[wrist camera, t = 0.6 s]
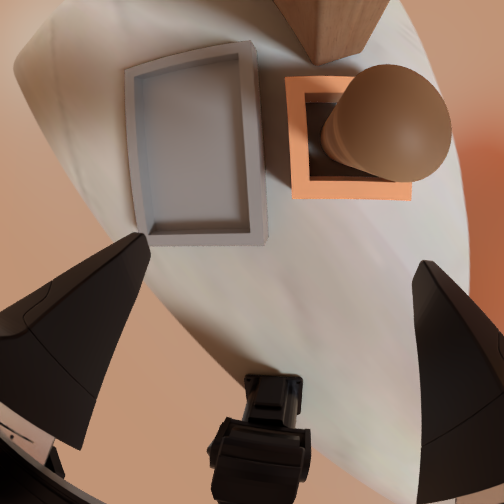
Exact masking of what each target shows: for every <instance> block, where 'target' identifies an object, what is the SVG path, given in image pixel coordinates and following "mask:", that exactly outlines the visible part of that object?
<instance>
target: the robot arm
mask: <svg viewBox="0 0 504 504" xmlns="http://www.w3.org/2000/svg"><path fill="white" fill-rule="evenodd" d="M150 257H151V252H150V249H149V245H148V242H147V238H146V235H145V234H144V233H137V232H133V233H131V234H129V235H127V236H126V237H124V238H122V239H120V240H118V241H117V242H115V243H113V244H111V245H110V246H108V247H106V248H104V249H103V250H101V251H99V252H97V253H96V254H94V255H92V256H91V257H89V258H87V259H86V260H84V261H82V262H81V263H79V264H77V265H76V266H74V267H72V268H71V269H69V270H67V271H66V272H64V273H63V274H61V275H59V276H58V277H56V278H55V279H53V281H50V282H48V283H47V284H45V285H44V286H42V287H41V288H39V289H37V290H36V291H34V292H33V293H31V294H29V295H28V296H26V297H24V298H23V299H21V300H19V301H18V302H16V303H14V304H13V305H11V306H9V307H7V308H6V309H4V310H3V311H1V312H0V504H106V503H104V502H102V501H100V500H98V499H96V498H94V497H92V496H90V495H89V494H87V493H85V492H84V491H82V490H80V489H78V488H77V487H75V486H73V485H72V484H70V483H68V482H67V481H66V480H64V477H65V473H64V470H63V468H62V465H61V462H60V459H59V456H58V453H57V450H56V448H55V447H54V446H53V443H54V441H55V439H58V440H60V441H62V442H64V443H66V444H67V445H69V446H71V447H73V448H75V449H77V450H81V448H82V445H83V442H84V438H85V435H86V431H87V428H88V425H89V421H90V419H91V415H92V412H93V409H94V406H95V403H96V399H97V397H98V394H99V391H100V388H101V385H102V383H103V380H104V376H105V374H106V372H107V369H108V366H109V364H110V361H111V358H112V356H113V353H114V351H115V348H116V345H117V343H118V341H119V338H120V336H121V333H122V331H123V328H124V326H125V323H126V321H127V319H128V317H129V314H130V312H131V309H132V307H133V305H134V303H135V300H136V298H137V295H138V293H139V290H140V287H141V284H142V281H143V278H144V275H145V272H146V270H147V267H148V264H149V261H150ZM412 294H413V309H414V327H415V335H416V343H417V352H418V362H419V373H420V388H421V415H422V436H421V446H422V447H421V459H420V474H419V485H418V494H417V504H427V503H433V502H438V501H444V500H448V499H453V498H455V504H504V336H503V334H502V333H501V332H500V331H499V330H498V328H496V326H495V325H494V324H493V323H492V321H491V320H490V319H489V318H488V317H487V316H486V315H485V313H484V312H483V311H482V310H481V309H480V308H479V307H478V306H477V305H476V304H475V303H474V301H473V300H472V299H471V298H470V297H469V296H468V295H467V294H466V293H465V292H464V291H463V290H462V289H461V288H460V287H459V286H458V285H457V284H456V283H455V282H454V281H453V280H452V279H451V278H450V277H449V276H448V275H447V274H446V273H445V272H444V271H443V270H442V269H441V268H440V267H439V266H438V265H437V264H436V263H435V262H433V261H429V260H422V261H421V262H420V264H419V266H418V268H417V271H416V273H415V275H414V277H413V280H412ZM248 378H249V379H248ZM298 381H299V382H298ZM244 382H245V390H246V398H247V404H246V407H245V411H244V414H243V418H242V421H240V420H235V419H232V418H229V417H226V419H225V421H224V422H222V424H221V425H220V427H219V430H218V433H217V435H216V437H215V439H214V440H213V441H212V443H211V444H210V445H209V447H208V448H207V453H208V455H209V456H210V468H213V469H215V470H214V474H213V479H212V483H211V492H212V495H213V498H214V500H217V501H218V504H293V502H294V500H295V498H296V494H297V489H298V486H299V482H305V481H306V478H307V475H308V472H309V467H310V461H311V432H310V429H296V428H295V425H296V416H297V415H299V414H300V413H301V402H302V388H303V379H302V378H299V377H277V376H261V375H246V376H245V378H244Z"/></svg>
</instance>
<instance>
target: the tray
mask: <svg viewBox="0 0 504 504" xmlns="http://www.w3.org/2000/svg"><path fill="white" fill-rule="evenodd" d="M125 115H126V133H127V147H128V158H129V169H130V178H131V186H132V194H133V202H134V209H135V216H136V222H137V229H138V233H144V234H145V235H146V238H147V242H148V245H149V246H264V245H265V243H266V241H267V239H268V237H269V235H268V215H267V196H266V179H265V162H264V146H263V130H262V116H261V101H260V87H259V74H258V61H257V50H256V49H255V47H254V45H253V43H252V41H251V40H249V41H241V42H234V43H228V44H222V45H216V46H211V47H205V48H200V49H196V50H191V51H187V52H183V53H179V54H175V55H171V56H167V57H163V58H160V59H156V60H153V61H150V62H146V63H143V64H140V65H137V66H134V67H131V68H128V69H125Z"/></svg>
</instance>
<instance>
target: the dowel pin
mask: <svg viewBox="0 0 504 504" xmlns="http://www.w3.org/2000/svg"><path fill="white" fill-rule="evenodd" d="M451 136H452V128H451V121H450V116H449V113H448V110H447V107H446V105H445V103H444V101H443V99H442V97H441V96H440V94H439V92H438V91H437V90H436V89H435V87H434V86H433V85H432V84H431V83H430V82H429V81H428V80H426V79H425V78H424V77H423V76H421V75H420V74H418V73H417V72H415V71H413V70H411V69H408V68H405V67H402V66H398V65H389V64H385V65H377V66H373V67H370V68H368V69H365V70H364V71H362V72H360V73H359V74H358V75H357V76H356V77H354V79H353V80H352V81H351V82H350V83H349V85H348V86H347V88H346V90H345V91H344V93H343V94H342V96H341V98H340V99H339V101H338V103H337V104H336V106H335V107H334V109H333V111H332V112H331V114H330V115H329V117H328V119H327V120H326V122H325V123H324V125H323V127H322V129H321V132H320V143H321V146H322V149H323V150H324V152H325V153H326V155H327V156H328V157H329V158H331V159H332V160H334V161H336V162H338V163H341V164H344V165H347V166H350V167H353V168H356V169H359V170H362V171H365V172H368V173H370V174H373V175H376V176H379V177H381V178H384V179H387V180H390V181H394V182H401V183H403V182H414V181H418V180H421V179H424V178H426V177H428V176H429V175H431V174H432V173H434V172H435V171H436V170H437V169H438V168H439V167H440V165H441V164H442V163H443V161H444V159H445V158H446V156H447V153H448V151H449V147H450V143H451Z"/></svg>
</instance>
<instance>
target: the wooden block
mask: <svg viewBox="0 0 504 504" xmlns="http://www.w3.org/2000/svg"><path fill="white" fill-rule="evenodd" d="M273 1H274V3H275V4H276V6H277V7H278V9H279V10H280V11H281V13H282V14H283V16H284V17H285V19H286V20H287V22H288V24H289V25H290V27H291V28H292V30H293V31H294V33H295V35H296V36H297V38H298V39H299V41H300V43H301V44H302V46H303V48H304V50H305V51H306V53H307V55H308V56H309V58H310V60H311V62H312V63H313V64H314V65H315V66H320V65H322V64H325V63H328V62H331V61H335V60H338V59H341V58H344V57H347V56H351V55H354V54H358V53H360V52H361V51H362V50H363V49H364V47H365V45H366V43H367V41H368V39H369V38H370V36H371V34H372V32H373V30H374V29H375V27H376V25H377V23H378V21H379V19H380V18H381V16H382V14H383V12H384V10H385V8H386V6H387V5H388V3H389V1H390V0H273Z"/></svg>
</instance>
